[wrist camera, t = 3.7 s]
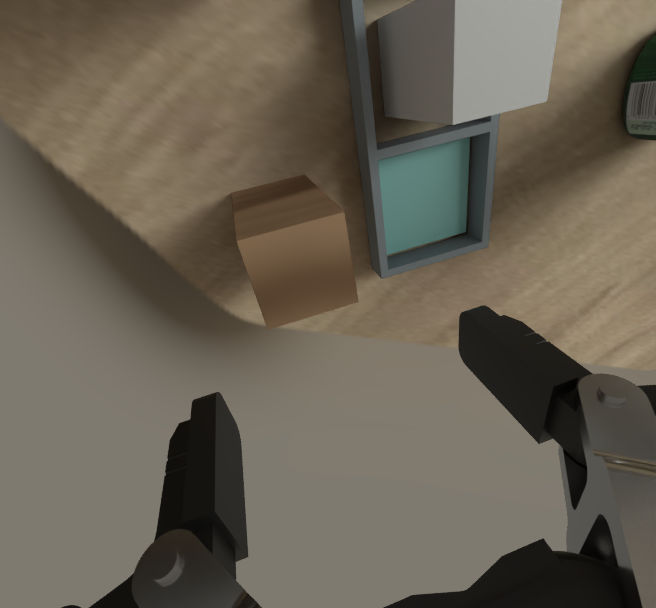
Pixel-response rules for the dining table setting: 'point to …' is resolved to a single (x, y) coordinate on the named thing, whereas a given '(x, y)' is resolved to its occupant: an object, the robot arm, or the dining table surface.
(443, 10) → the divider rack
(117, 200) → the dining table surface
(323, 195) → the walnut plug
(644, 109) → the coffee jar
